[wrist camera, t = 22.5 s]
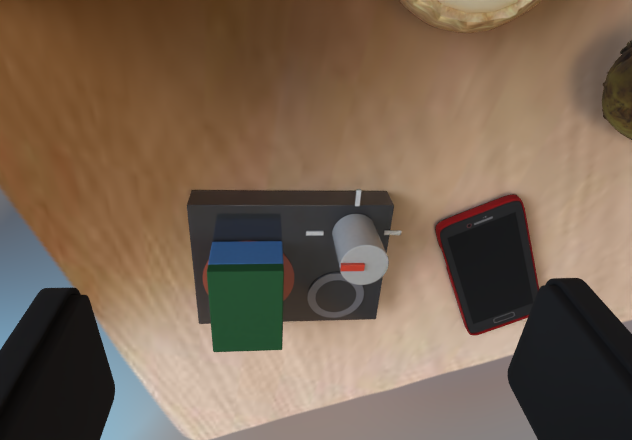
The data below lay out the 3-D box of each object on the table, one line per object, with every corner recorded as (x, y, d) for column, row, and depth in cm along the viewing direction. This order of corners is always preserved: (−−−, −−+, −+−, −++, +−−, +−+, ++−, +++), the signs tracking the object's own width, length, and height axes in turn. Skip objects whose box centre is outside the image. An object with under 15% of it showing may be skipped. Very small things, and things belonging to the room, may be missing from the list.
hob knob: (378, 213, 36) (393, 247, 32) (373, 250, 38) (386, 287, 34) (333, 213, 36) (342, 247, 32) (330, 251, 37) (338, 288, 33)
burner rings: (371, 239, 37) (371, 241, 37) (360, 315, 41) (360, 317, 41) (199, 240, 36) (199, 242, 36) (206, 319, 40) (206, 321, 40)
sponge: (282, 240, 36) (284, 271, 33) (280, 316, 40) (282, 350, 37) (212, 241, 36) (206, 272, 32) (217, 317, 40) (213, 352, 36)
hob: (399, 175, 37) (408, 190, 35) (379, 301, 44) (385, 320, 42) (189, 174, 36) (184, 189, 33) (202, 305, 42) (198, 325, 40)
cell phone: (466, 331, 47) (469, 338, 46) (431, 222, 40) (435, 228, 39) (538, 306, 46) (543, 312, 46) (517, 189, 39) (522, 194, 38)
